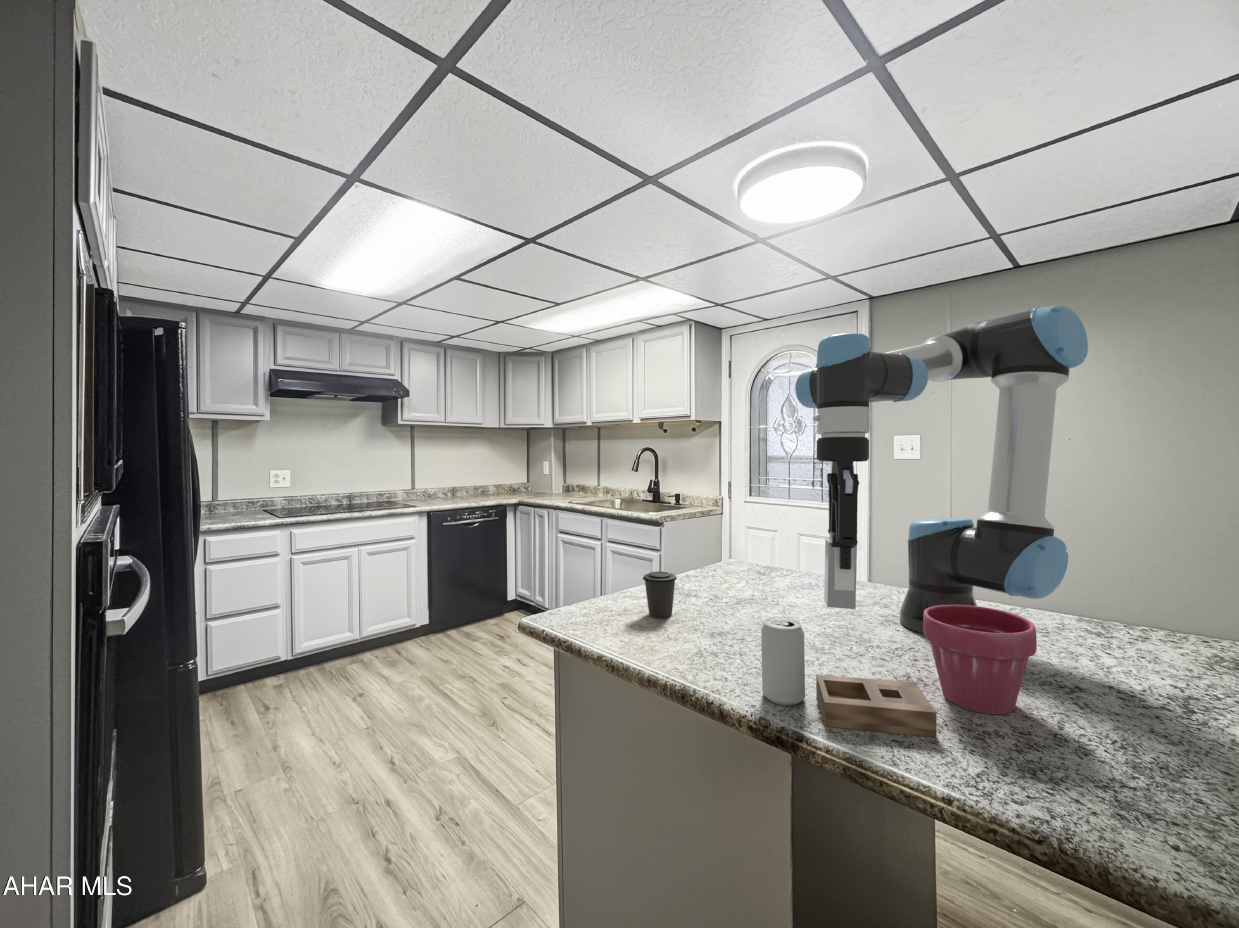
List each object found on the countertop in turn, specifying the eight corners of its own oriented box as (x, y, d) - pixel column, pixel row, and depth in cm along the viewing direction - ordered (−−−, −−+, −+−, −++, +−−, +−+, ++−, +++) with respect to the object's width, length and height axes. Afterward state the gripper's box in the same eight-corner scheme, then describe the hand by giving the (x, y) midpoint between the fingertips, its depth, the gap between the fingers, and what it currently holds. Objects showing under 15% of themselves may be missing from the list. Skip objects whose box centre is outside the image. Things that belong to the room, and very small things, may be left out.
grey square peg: (851, 601, 82) (852, 532, 82) (855, 609, 78) (856, 536, 78) (824, 599, 83) (825, 530, 83) (827, 607, 79) (828, 534, 79)
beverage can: (799, 712, 76) (798, 631, 76) (756, 701, 80) (755, 624, 79) (809, 694, 82) (808, 619, 81) (768, 685, 85) (767, 613, 85)
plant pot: (905, 679, 86) (905, 603, 86) (991, 678, 86) (991, 602, 85) (959, 725, 72) (959, 634, 71) (1062, 724, 71) (1063, 633, 71)
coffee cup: (644, 609, 126) (644, 568, 126) (678, 610, 125) (677, 569, 125) (641, 620, 118) (640, 577, 118) (677, 621, 117) (676, 577, 117)
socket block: (915, 704, 78) (915, 682, 78) (936, 737, 69) (936, 712, 69) (816, 695, 81) (816, 674, 81) (824, 726, 72) (824, 702, 72)
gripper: (811, 437, 89) (810, 571, 90) (823, 434, 73) (822, 598, 73) (858, 437, 87) (857, 574, 88) (881, 434, 71) (880, 602, 71)
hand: (841, 585), depth 81 cm, fingers closed on grey square peg, 4 cm apart
